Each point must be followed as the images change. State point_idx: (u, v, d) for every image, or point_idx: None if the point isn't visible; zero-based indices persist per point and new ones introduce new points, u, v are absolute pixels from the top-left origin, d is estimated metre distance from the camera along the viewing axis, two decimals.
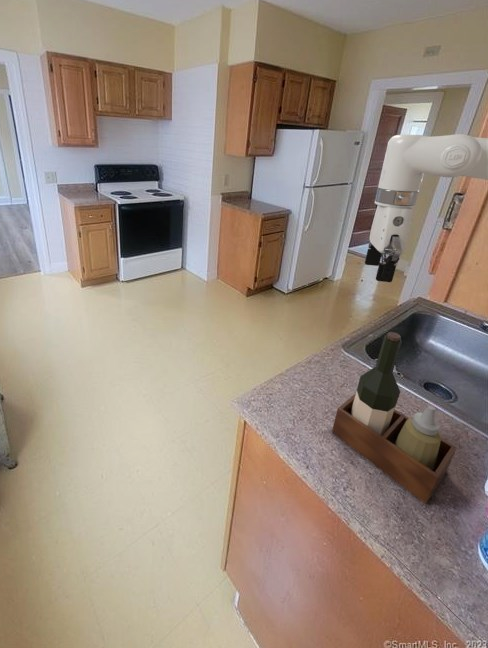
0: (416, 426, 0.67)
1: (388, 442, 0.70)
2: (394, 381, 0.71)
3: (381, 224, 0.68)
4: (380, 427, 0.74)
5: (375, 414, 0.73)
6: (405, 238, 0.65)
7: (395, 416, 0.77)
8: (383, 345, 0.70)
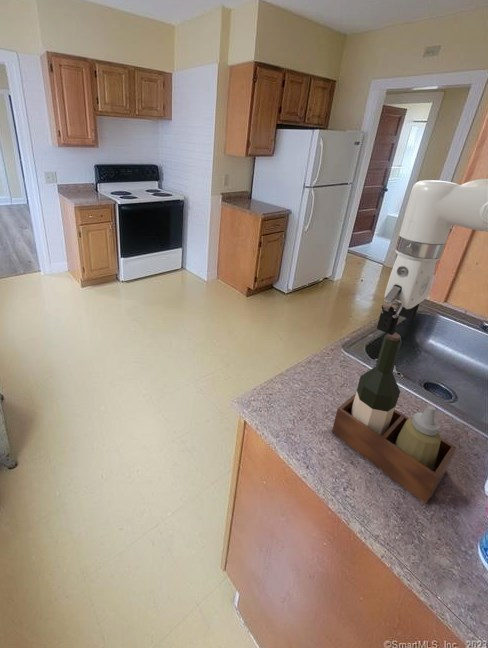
0: (416, 426, 0.67)
1: (388, 442, 0.70)
2: (394, 381, 0.71)
3: None
4: (380, 427, 0.74)
5: (375, 414, 0.73)
6: (408, 292, 0.60)
7: (395, 416, 0.77)
8: (383, 345, 0.70)
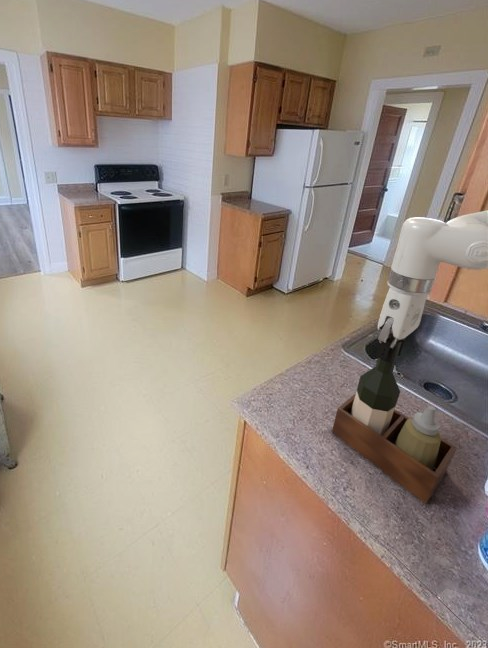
0: (416, 426, 0.67)
1: (388, 442, 0.70)
2: (394, 381, 0.71)
3: None
4: (380, 427, 0.74)
5: (375, 414, 0.73)
6: (400, 324, 0.62)
7: (395, 416, 0.77)
8: None
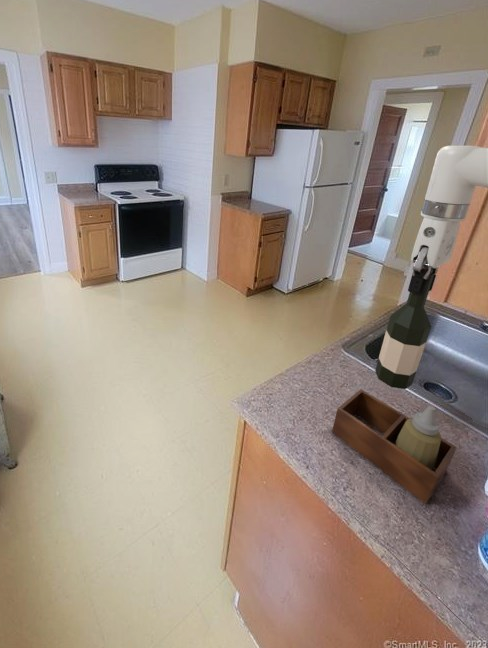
0: (416, 426, 0.67)
1: (388, 442, 0.70)
2: (425, 316, 0.73)
3: None
4: (411, 363, 0.75)
5: (406, 350, 0.74)
6: (435, 251, 0.64)
7: (395, 416, 0.77)
8: None
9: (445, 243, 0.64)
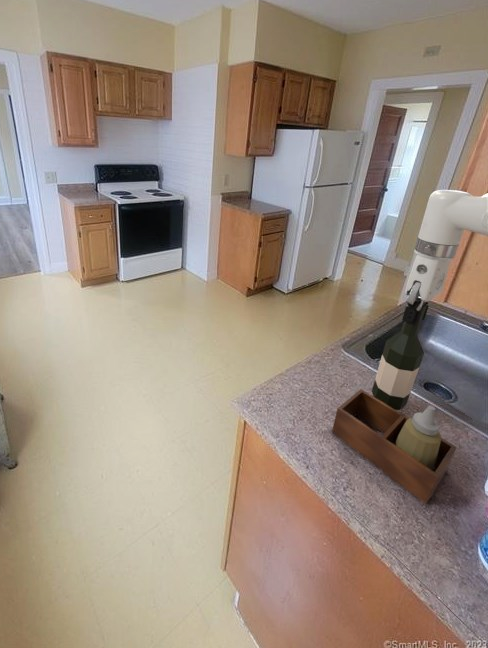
0: (416, 426, 0.67)
1: (388, 442, 0.70)
2: (418, 343, 0.78)
3: None
4: (405, 387, 0.80)
5: (400, 374, 0.79)
6: (427, 286, 0.69)
7: (395, 416, 0.77)
8: None
9: (436, 279, 0.69)
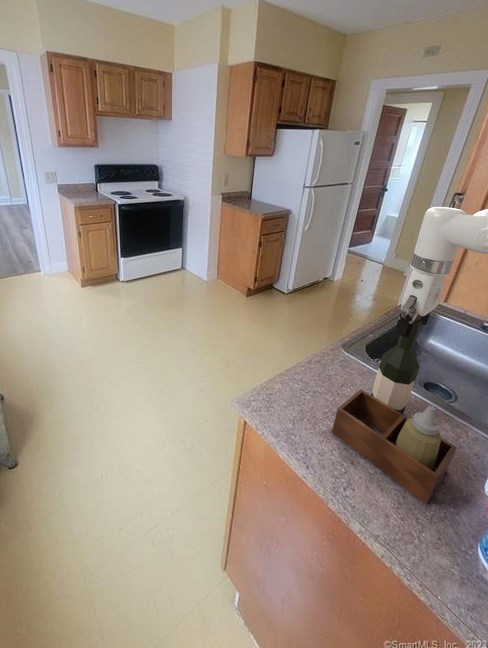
0: (416, 426, 0.67)
1: (388, 442, 0.70)
2: (414, 357, 0.79)
3: None
4: (401, 399, 0.82)
5: (397, 387, 0.81)
6: (423, 301, 0.70)
7: (395, 416, 0.77)
8: None
9: (432, 294, 0.70)
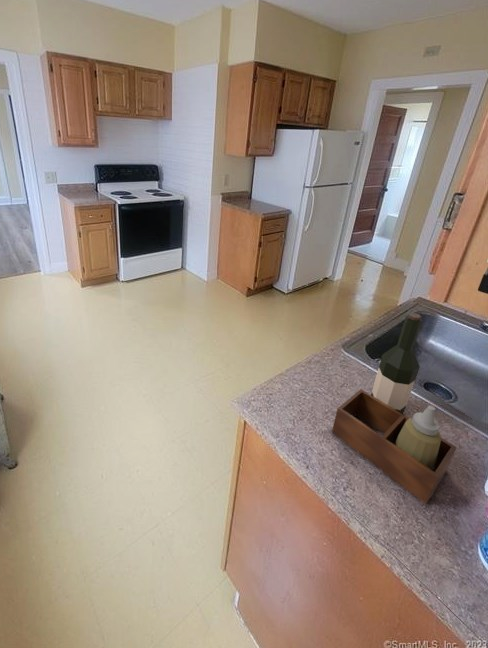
0: (416, 426, 0.67)
1: (388, 442, 0.70)
2: (414, 357, 0.79)
3: None
4: (401, 399, 0.82)
5: (397, 387, 0.81)
6: None
7: (395, 416, 0.77)
8: (405, 324, 0.78)
9: None
